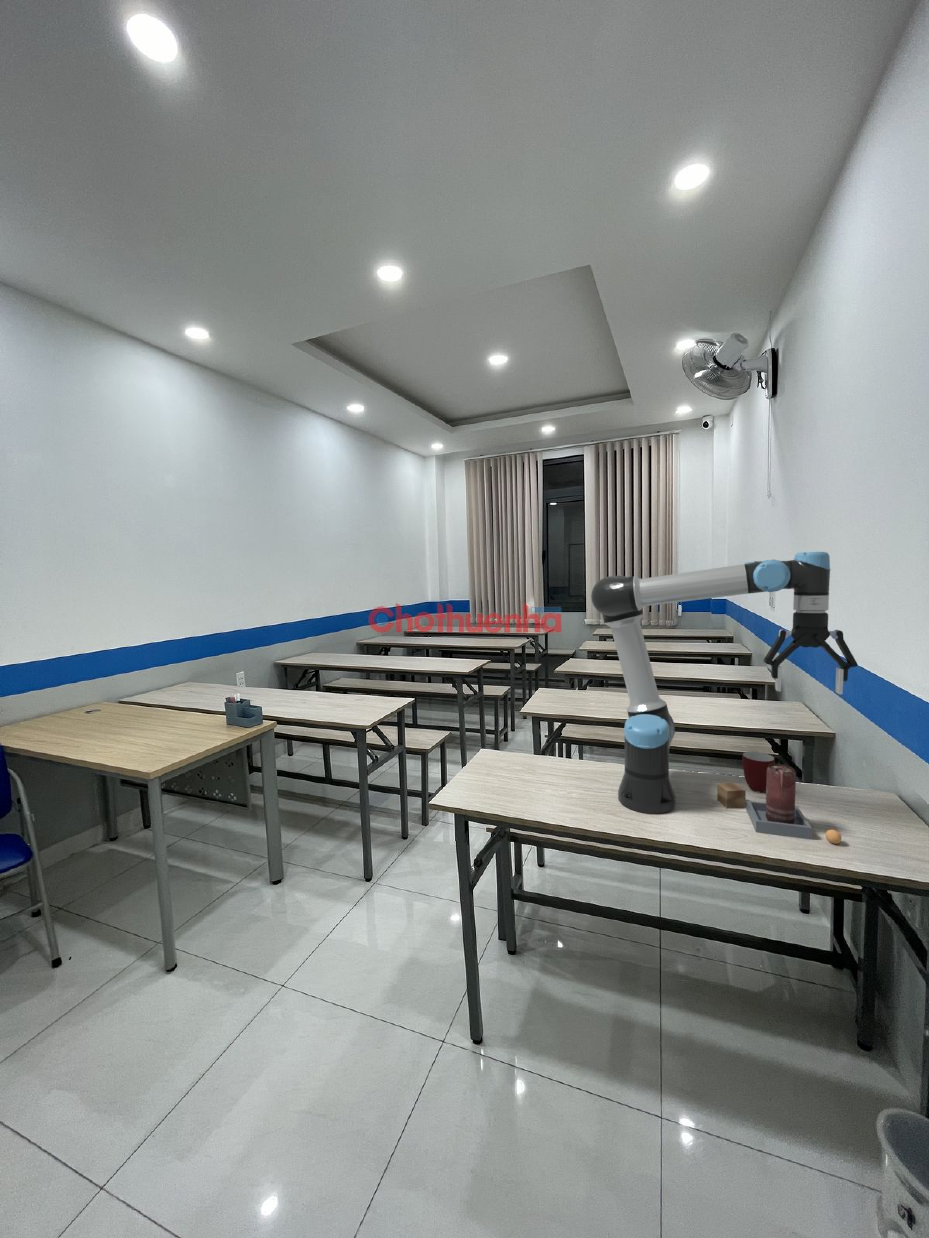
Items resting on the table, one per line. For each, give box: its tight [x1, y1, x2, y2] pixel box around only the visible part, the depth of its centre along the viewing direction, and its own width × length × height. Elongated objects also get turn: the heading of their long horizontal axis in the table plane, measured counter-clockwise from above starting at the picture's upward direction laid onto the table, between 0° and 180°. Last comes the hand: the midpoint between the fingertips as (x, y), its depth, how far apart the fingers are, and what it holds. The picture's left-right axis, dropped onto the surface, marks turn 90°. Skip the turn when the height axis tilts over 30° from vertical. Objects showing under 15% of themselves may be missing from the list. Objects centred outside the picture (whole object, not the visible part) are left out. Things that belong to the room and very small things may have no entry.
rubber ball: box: [825, 829, 843, 845], centre depth 114 cm, size 3×3×3 cm
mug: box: [741, 751, 776, 793], centre depth 143 cm, size 10×8×10 cm
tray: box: [746, 800, 813, 840], centre depth 123 cm, size 12×12×3 cm
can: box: [765, 763, 797, 824], centre depth 123 cm, size 6×6×14 cm
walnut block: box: [716, 782, 747, 809], centre depth 135 cm, size 5×5×5 cm
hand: (807, 691), depth 129 cm, fingers open, 13 cm apart
